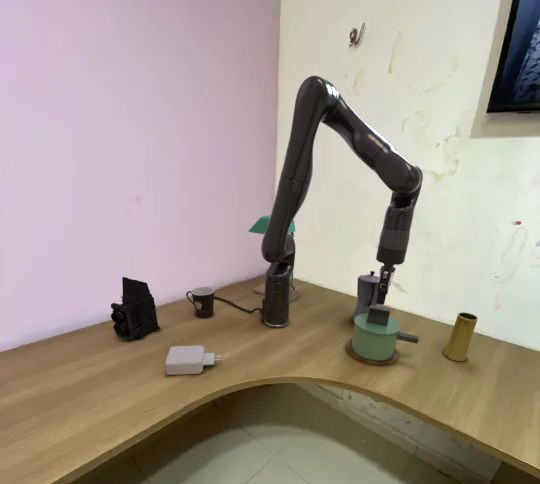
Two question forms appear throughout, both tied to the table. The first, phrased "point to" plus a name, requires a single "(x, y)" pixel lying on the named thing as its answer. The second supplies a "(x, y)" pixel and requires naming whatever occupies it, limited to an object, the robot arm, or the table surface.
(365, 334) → the pot
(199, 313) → the coffee mug
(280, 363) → the table surface
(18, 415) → the table surface
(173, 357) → the charger
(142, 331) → the camera
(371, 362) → the trivet
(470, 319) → the vase
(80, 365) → the table surface
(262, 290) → the banker's lamp
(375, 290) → the moka pot
